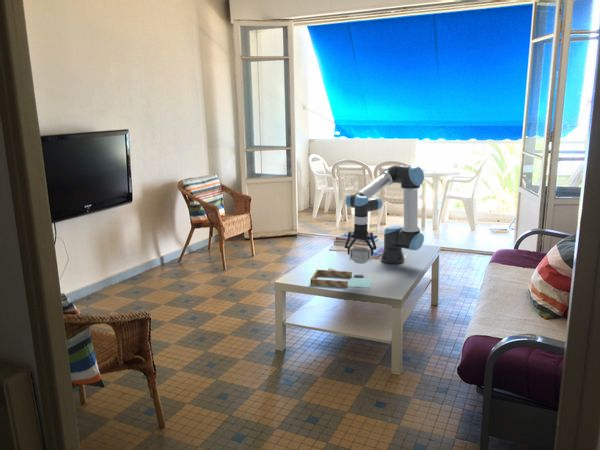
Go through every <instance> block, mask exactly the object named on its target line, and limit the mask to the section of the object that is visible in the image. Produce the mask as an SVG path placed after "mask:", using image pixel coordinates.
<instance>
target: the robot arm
mask: <svg viewBox="0 0 600 450" xmlns="http://www.w3.org/2000/svg"><path fill="white" fill-rule="evenodd" d="M424 180H425V173H424V170H423V169H422V168H421V167H420V166H418V165H412V164H411V165H410V164H395V165H392V166H390V167H388V168H386V169H383V171H382V172H380V174H379V176H378V177H376V178H375V179H374V180H372V181H370V182H369V183H368V184H367V185H366V186H364V187H363V188H361V189H360V190H359V191H357V192H355V194H348V195H347V196H346V197H345V201H344V202H345V206H347V207H349V208H352V209H354V216H353V219H354V221H353V222H354V224H353V225H354V227H353V229H354V230H353V231H350V230H349V232H348V236H347V240H346V242H345V245H344V249H347V255H348V256H349V257H348V259H349V261H352V258H351V251H352V250H351V249H352V246H353V245H354V244H355V242H356V240H364V242H365V243H366V245H367V246H368V247H369V248H368V249H369V250H370V254H369V260H368V262H370V263H371V262H372V256H374V251H375V250H377V244H376V241H375V239H374V232H372V231H371V232H368V218H369V215H368V213H369V212H374V211H377V210H380V209H381V208H382V206H383V201H382V199H381V198H380V197H378V196H375V195H377V194H378V193H379V192H381V191H382V190H383V189H384V188H386V187H387V186H391V185H393V184H400V187H401V189H402V190H403V227H402V226H400V225H398V226H397V225H396V226H392V225H391V226H388V227H386V228H384V233H383V251H382V253H381V257H380V261H381V262H383V263H385V264H391V265H395V264H396V265H398V264H402V263H404V262H405V256H404V252H403V250H402V249H406V250H409V251H418V250H419V249H421V247H422V246H423V243H424V241H425V236H424V234H423V233H422V232H421V228H420V227H419V225H418V224H419V223H418V222H419V221H418V220H419V219H418V218H419V217H418V216H419V215H418V208H419V207H418V204H419V203H418V196H419V195H418V193H419V192H418V190H419V189H420V188H421V186H422V185H423V184H424ZM352 236H354V238H353V240H351V237H352ZM367 236H369V237H370V241H371V242H370V241H369V239H368V237H367ZM350 240H351V242H350ZM349 243H350V244H349Z"/></svg>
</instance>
